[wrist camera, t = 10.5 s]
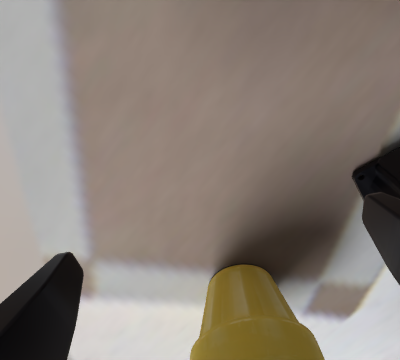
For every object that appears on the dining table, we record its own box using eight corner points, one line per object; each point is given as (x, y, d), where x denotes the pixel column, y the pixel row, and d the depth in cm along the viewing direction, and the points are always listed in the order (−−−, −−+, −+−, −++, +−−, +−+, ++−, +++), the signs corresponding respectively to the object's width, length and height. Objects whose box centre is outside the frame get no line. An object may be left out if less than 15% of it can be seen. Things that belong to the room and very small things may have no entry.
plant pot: (173, 265, 26) (167, 383, 18) (281, 236, 25) (329, 350, 17) (205, 324, 32) (213, 438, 23) (296, 304, 30) (339, 416, 22)
